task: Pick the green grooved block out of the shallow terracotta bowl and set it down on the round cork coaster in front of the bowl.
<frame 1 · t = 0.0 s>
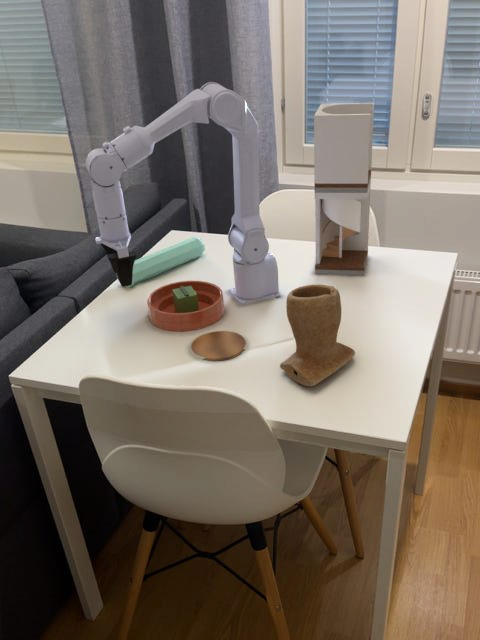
hand: (122, 278, 145), 10 cm above the table, tool pointing down, fingers open, 7 cm apart
stone cup: (313, 367, 131), on the table
spiral staircase tower: (341, 266, 167), on the table
bowl: (187, 315, 151), on the table
container: (165, 270, 172), on the table
coaster: (218, 346, 139), on the table
green grooved block: (187, 313, 151), point 1 cm above the table, touching bowl
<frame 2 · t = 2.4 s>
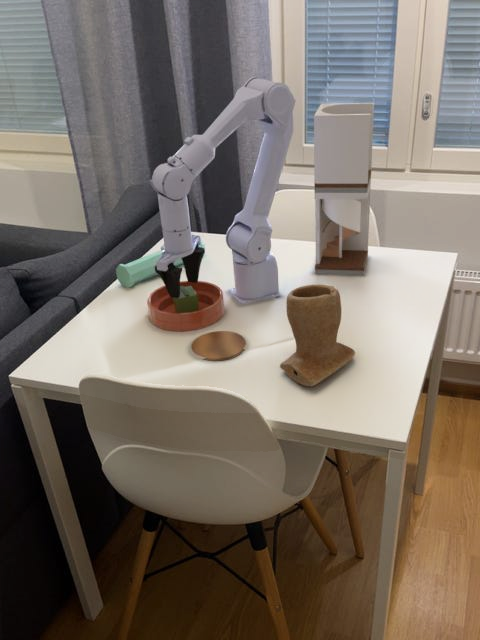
hand: (184, 289, 147), 6 cm above the table, tool pointing down, fingers open, 7 cm apart
nothing on the table moved.
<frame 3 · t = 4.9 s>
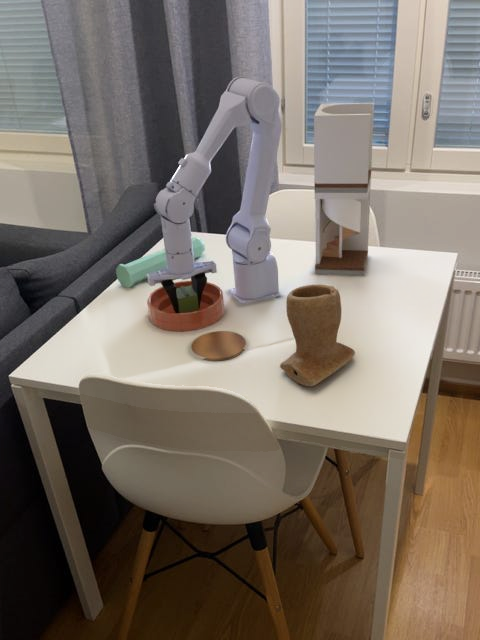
hand: (186, 309, 150), 2 cm above the table, tool pointing down, fingers closed on green grooved block, 4 cm apart
green grooved block: (187, 313, 151), point 1 cm above the table, touching bowl, gripper
everything else where it was.
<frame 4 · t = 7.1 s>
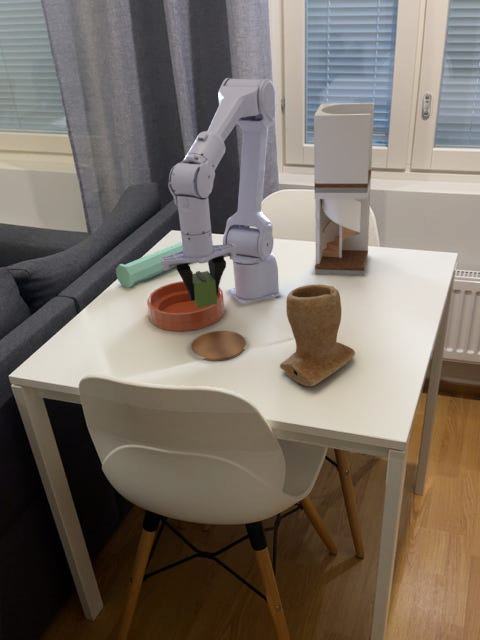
hand: (203, 296, 138), 9 cm above the table, tool pointing down, fingers closed on green grooved block, 4 cm apart
green grooved block: (203, 300, 139), point 8 cm above the table, touching gripper
everything else where it was.
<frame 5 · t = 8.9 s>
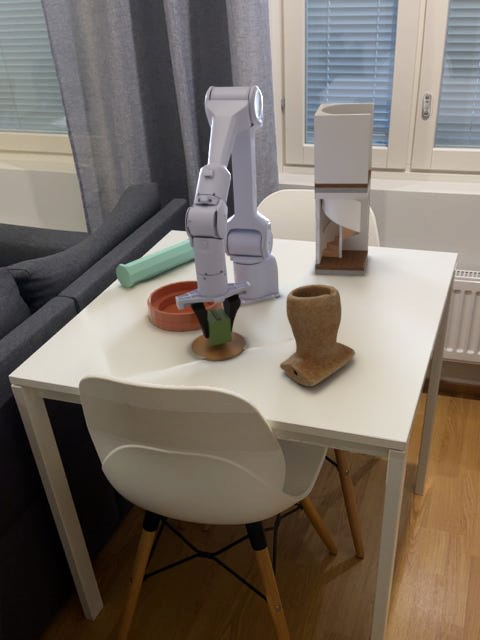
hand: (217, 333, 137), 3 cm above the table, tool pointing down, fingers closed on green grooved block, 4 cm apart
green grooved block: (218, 337, 138), point 2 cm above the table, touching gripper
everything else where it was.
when the fingers open (2 cm above the table, at t = 9.8 s): green grooved block stays where it is, resting on coaster.
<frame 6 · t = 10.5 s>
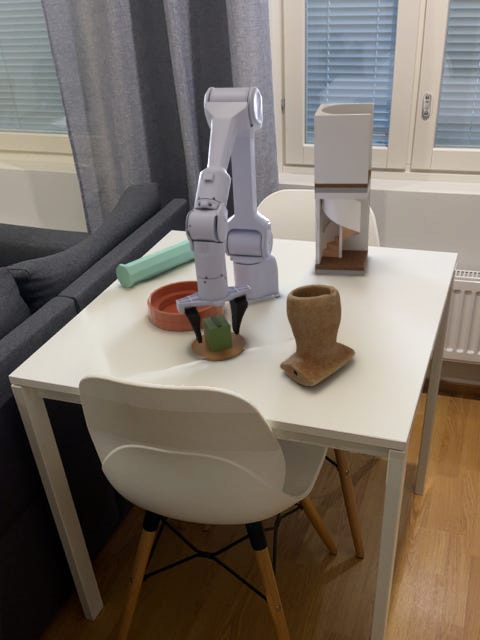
hand: (217, 336, 138), 2 cm above the table, tool pointing down, fingers open, 7 cm apart
green grooved block: (218, 344, 139), point 1 cm above the table, touching coaster
everything else where it was.
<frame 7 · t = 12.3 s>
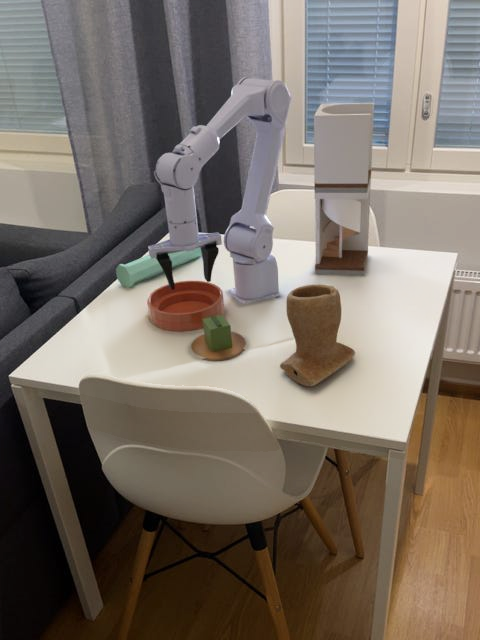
hand: (190, 283, 142), 9 cm above the table, tool pointing down, fingers open, 7 cm apart
nothing on the table moved.
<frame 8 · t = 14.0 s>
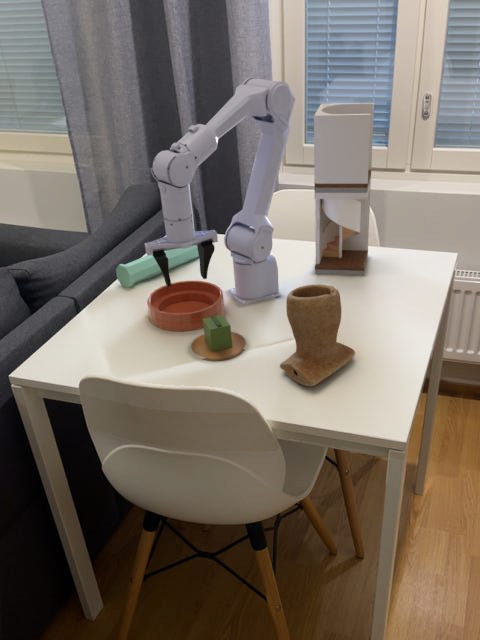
hand: (186, 280, 143), 9 cm above the table, tool pointing down, fingers open, 7 cm apart
nothing on the table moved.
at the end: green grooved block inside the target area on the coaster (0.0 cm from its centre), point 0.6 cm above the coaster's base; green grooved block touching coaster; the gripper is holding nothing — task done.
